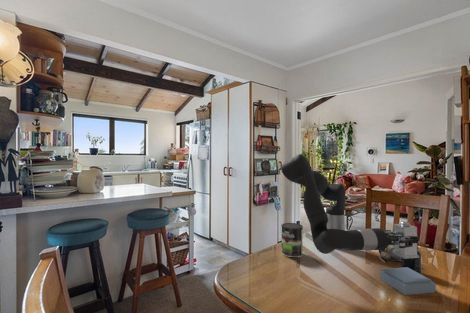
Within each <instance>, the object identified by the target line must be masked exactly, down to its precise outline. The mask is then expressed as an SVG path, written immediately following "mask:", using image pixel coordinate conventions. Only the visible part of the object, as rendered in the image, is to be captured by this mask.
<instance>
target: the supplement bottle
mask: <svg viewBox="0 0 470 313" xmlns="http://www.w3.org/2000/svg"><path fill="white" fill-rule="evenodd" d="M418 244H419V243H417V255H419V258H407V259H404V258H402V257H401V261H400V263H401V268H404V267H408V268H410V269H412V270H414V271H415V272H417V273H419V274H421V275H423V273H422V272H423V270H422V268H423V267H422V253H421V251H420V250H419V245H418Z"/></svg>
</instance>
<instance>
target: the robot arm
mask: <svg viewBox="0 0 470 313" xmlns="http://www.w3.org/2000/svg"><path fill="white" fill-rule="evenodd" d="M280 170H281V173H282V175H283V176H284V177H285V178H286V179H287V180H289V181H290V182H291V183H295V184H297V185H301V186H303V187H305V189H304V196H303V209H304V212H305V215H306V217H307V220H308V222H309V226H310V233H311V237H312V241H313V244H314V247H315V248H316V250H317V251H318V252H320V253H321V254H323V255H324V254H326V255H327V254H330V253H332V252H334V251H335V250H338V249H344V250H345V251H352V252H353V251H378V250H384V249H385V250H386V248H387V246H388V245H391V246H394V245H399V248H407V247H412V246H413V243H417V244H419V243H420V238H419V236H417V237H403V236H402V235H394V230H393V231H392V230H391V229H382V228H380V227H377V228H376V227H375V228H373V227H372V228H360V229H359V228H358V229H347V230H346V228H345V226H346V225H345V224H346V220H345V217H346V216H345V209H346V187H345V185H344V184H341V183H329V180H328V179H327V177H326V176H325V175H324V174H322V173H321V172H319V171H316V170H313V169H312V167H311V164H310V162H309V160H308V158H307V157H305V155H304V154H302V153H299V154H296V155H295V156H293V157H292V158H289V159H287V160H286V161H284V162H283V164H282V165H281V168H280ZM320 196H321V197H322V198H324V199H325V200H326V201H331V202H335V205H331V206H328V207H326V209H325V207H324V204H323V203H322V201H321V200H322V199H321V198H320ZM398 237H400V240H399V238H398Z"/></svg>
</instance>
